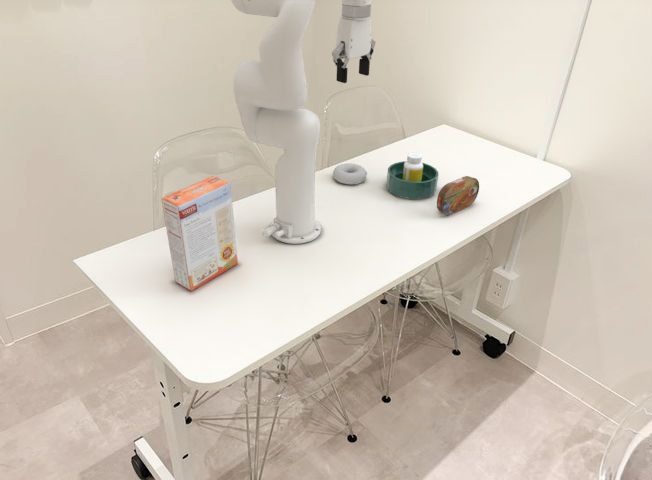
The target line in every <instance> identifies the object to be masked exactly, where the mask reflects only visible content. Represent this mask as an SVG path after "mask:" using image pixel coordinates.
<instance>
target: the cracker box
mask: <svg viewBox="0 0 652 480" xmlns="http://www.w3.org/2000/svg"><path fill="white" fill-rule="evenodd" d="M161 206H162V212H163V217H164V223H165V229H166V235H167V240H168V247H169V253H170V257H171V259H170V260H171V264H172V265H171V266H172V270H173V276H174V281H175V283H177V284H178V285H181V287H183V288H185V289H187V290H189V291H190V292H193V291H194V290H197V289H198V288H199V287H201V286H203V285H204V284H206V283H208V282H210V281H211V280H213V279H215V278H216V277H218V276H220V275H221V274H223V273H225V272H226V271H228V270H230V269H231V268H233V267H236V266H237V265H238V254H237V253H238V251H237V240H236V231H235V219H234V209H233V196H232V185H231V182H230V181H227V180H224V179H222V178H219V177H217V176H215V175H212V176H209V177H207V178H204V179H202V180H200V181H198V182H196V183H193V184H191V185H189V186H186V187H184V188H182V189H179V190H177V191H175V192H172V193H170V194H168V195H166V196H163V197H162V198H161Z"/></svg>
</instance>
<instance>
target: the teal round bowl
mask: <svg viewBox="0 0 652 480" xmlns="http://www.w3.org/2000/svg"><path fill="white" fill-rule="evenodd" d="M406 161H407V160H404V161H398V162H394V163H392V164H390V165H389V166H388V168H387V173H386V174H387V175H386V189H387V191H388V192H390V193H391V194H392V195H395V196H398V197H401V198H405V199H413V200H416V199H417V200H418V199H425V198H429V197H432V196H433V195H435V193H436V192H437V188H438V180H439V171H438V170H437V168H435V167H434V166H433V165H430V164H427V163H425V162H422V163H423V172H422V180H421V182H411V181H405V180H402V179H403V169H404V163H405V162H406Z"/></svg>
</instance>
